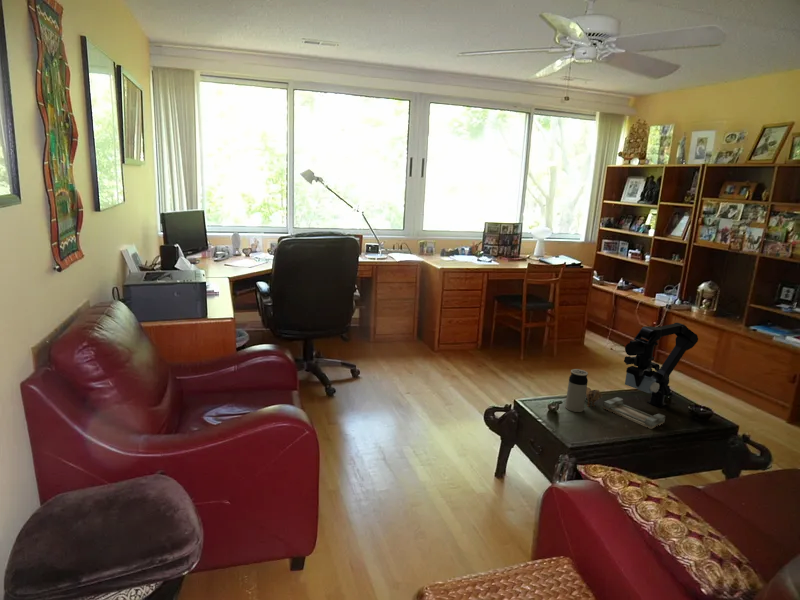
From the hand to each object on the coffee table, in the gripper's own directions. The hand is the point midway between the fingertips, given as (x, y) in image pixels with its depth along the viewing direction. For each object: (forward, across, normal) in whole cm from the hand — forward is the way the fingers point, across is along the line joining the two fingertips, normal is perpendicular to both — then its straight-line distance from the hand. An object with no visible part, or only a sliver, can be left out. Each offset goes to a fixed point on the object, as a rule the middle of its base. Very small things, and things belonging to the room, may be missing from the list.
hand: (640, 385), depth 237 cm
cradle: (+10, +12, +5) cm, 17 cm away
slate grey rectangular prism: (+1, 0, +1) cm, 1 cm away
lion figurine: (+11, +18, -13) cm, 25 cm away
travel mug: (+11, +30, -13) cm, 34 cm away
